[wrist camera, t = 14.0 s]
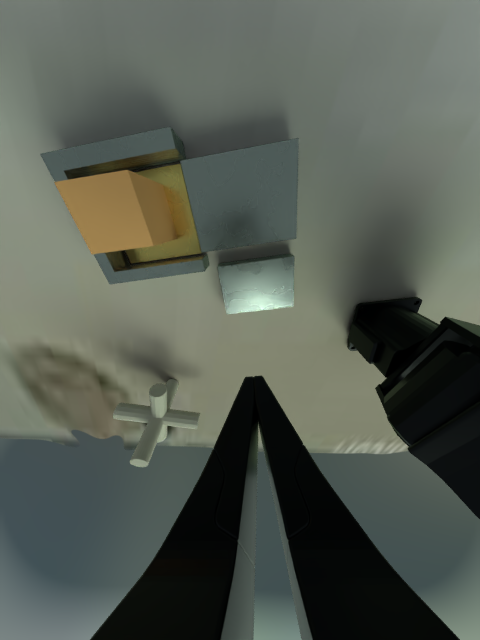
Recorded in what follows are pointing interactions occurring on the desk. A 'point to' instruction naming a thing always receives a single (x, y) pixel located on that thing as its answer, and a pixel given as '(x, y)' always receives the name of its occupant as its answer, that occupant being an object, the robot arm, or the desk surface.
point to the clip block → (118, 211)
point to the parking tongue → (257, 283)
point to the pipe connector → (155, 419)
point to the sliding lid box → (194, 197)
